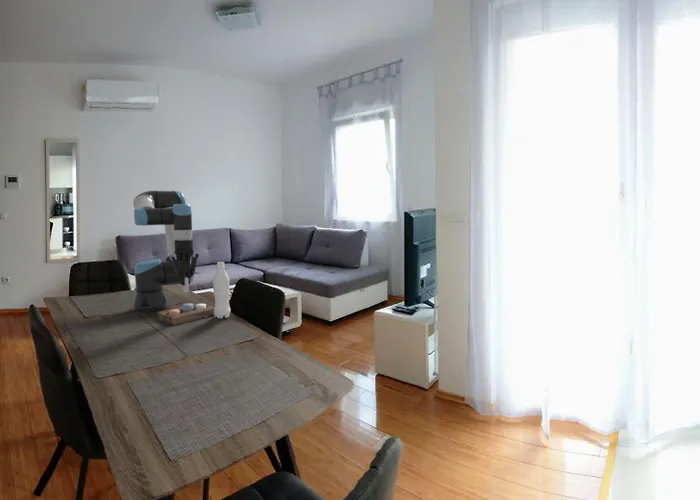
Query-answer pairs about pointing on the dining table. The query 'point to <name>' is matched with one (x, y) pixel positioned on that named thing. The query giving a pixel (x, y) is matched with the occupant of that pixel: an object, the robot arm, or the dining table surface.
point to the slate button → (187, 307)
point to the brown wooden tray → (185, 314)
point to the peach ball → (174, 312)
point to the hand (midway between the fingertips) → (185, 292)
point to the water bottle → (221, 292)
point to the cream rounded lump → (200, 306)
